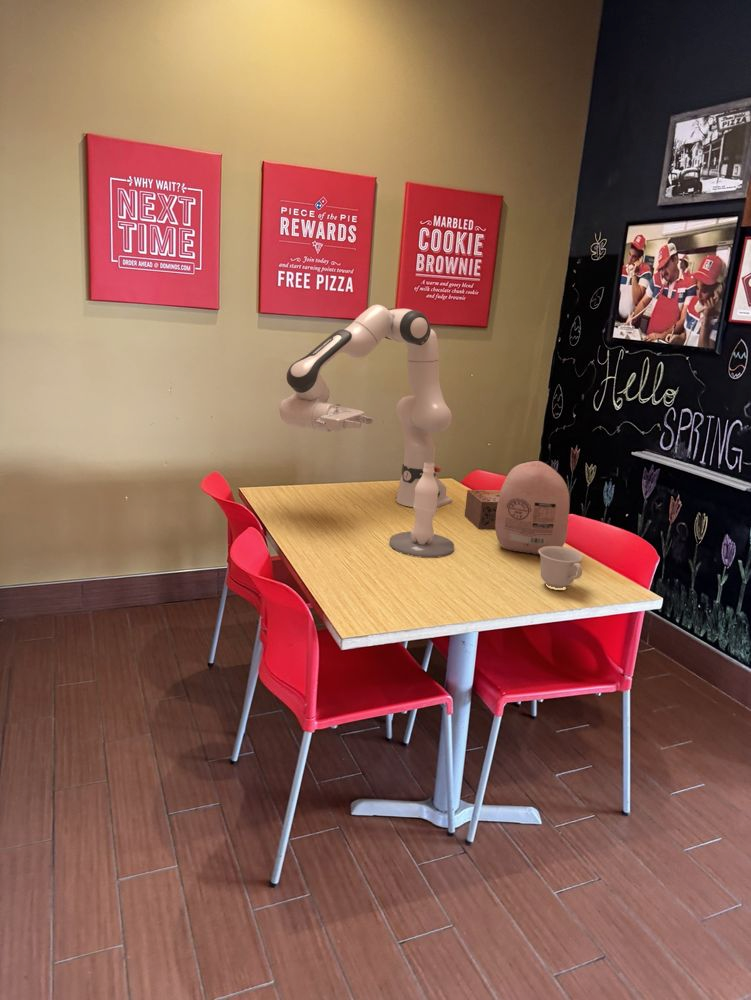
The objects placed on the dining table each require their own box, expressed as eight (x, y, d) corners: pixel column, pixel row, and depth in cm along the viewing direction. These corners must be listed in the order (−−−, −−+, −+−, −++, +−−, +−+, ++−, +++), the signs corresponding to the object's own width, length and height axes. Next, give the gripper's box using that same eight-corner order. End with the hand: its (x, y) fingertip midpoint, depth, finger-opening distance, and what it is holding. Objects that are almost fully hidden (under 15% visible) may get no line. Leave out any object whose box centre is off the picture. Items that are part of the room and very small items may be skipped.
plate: (418, 531, 237) (419, 527, 237) (466, 549, 224) (467, 545, 224) (376, 542, 223) (376, 539, 223) (424, 562, 210) (425, 558, 210)
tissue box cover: (478, 530, 244) (481, 501, 241) (464, 516, 257) (467, 489, 255) (548, 530, 250) (552, 502, 247) (531, 517, 263) (534, 490, 260)
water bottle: (433, 539, 227) (441, 462, 220) (433, 547, 220) (441, 467, 213) (410, 537, 227) (417, 460, 220) (409, 544, 220) (417, 465, 213)
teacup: (557, 602, 189) (563, 567, 186) (524, 580, 202) (529, 547, 199) (594, 598, 194) (600, 563, 191) (559, 577, 207) (565, 544, 204)
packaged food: (564, 548, 232) (578, 457, 223) (562, 569, 213) (577, 470, 205) (495, 537, 237) (507, 448, 228) (488, 556, 219) (500, 460, 210)
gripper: (311, 411, 219) (353, 417, 214) (340, 403, 237) (379, 409, 233) (310, 431, 221) (351, 438, 216) (339, 422, 239) (377, 428, 234)
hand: (366, 423), depth 224 cm, fingers open, 8 cm apart
